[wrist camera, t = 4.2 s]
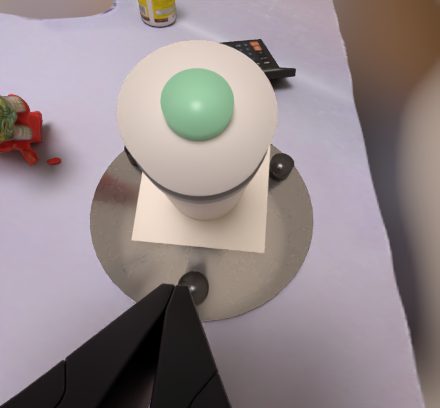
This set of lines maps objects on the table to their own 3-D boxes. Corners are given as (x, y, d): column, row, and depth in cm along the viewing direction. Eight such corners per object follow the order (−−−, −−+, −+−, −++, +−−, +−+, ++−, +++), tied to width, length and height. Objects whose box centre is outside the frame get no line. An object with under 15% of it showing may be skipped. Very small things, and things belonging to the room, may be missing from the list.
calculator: (259, 45, 38) (264, 23, 35) (289, 91, 32) (297, 70, 30) (202, 50, 36) (202, 28, 33) (224, 100, 31) (225, 78, 28)
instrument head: (261, 252, 19) (337, 257, 7) (136, 240, 19) (18, 227, 7) (267, 137, 21) (336, 1, 9) (154, 125, 21) (83, -29, 9)
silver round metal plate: (322, 332, 18) (339, 332, 16) (57, 308, 18) (35, 305, 15) (299, 138, 28) (308, 121, 25) (128, 120, 27) (121, 101, 25)
